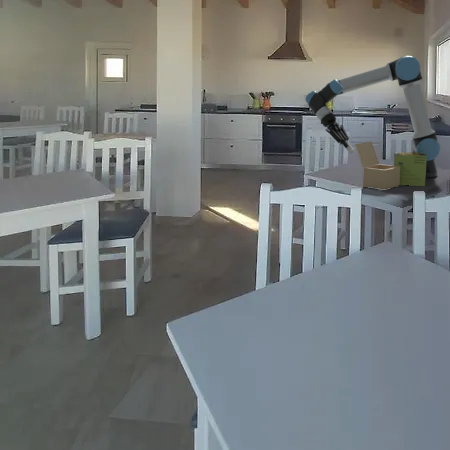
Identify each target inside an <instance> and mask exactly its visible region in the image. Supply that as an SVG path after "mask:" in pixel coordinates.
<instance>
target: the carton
mask: <svg viewBox="0 0 450 450" xmlns="http://www.w3.org/2000/svg"><path fill="white" fill-rule="evenodd" d="M362 177H363V178H362V181H363V182H362V183H363V184H362V188H363V187H373V188H380V189H388V188H392V189H394V188H393V187H396V188H398V187H397V186H399V183H400V166H394V165H389V164H380V163H379V164H376V165H372V166H367V167H363V176H362ZM399 187H400V186H399ZM388 190H389V189H388Z"/></svg>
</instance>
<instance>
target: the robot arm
mask: <svg viewBox="0 0 450 450" xmlns="http://www.w3.org/2000/svg"><path fill="white" fill-rule="evenodd" d="M396 80H397V81H398V86H399V87H401V88H402V89H403V93H404V98H405V101H406V105H407V109H408V112H409V116H410V120H411V125H412V129H413V133H414V134H413V136H412V140H413V142H412V153H425V154H426V155H427V161H426V177H425V178H435V177H437V176H438V169H437V166H436V161H435V159H436V158H437V157H438V156H439V155H440V152H441V145H440V142H439V141H438V137H437V133H436V130H434V129H433V128H432V126H431V125H432V124H431V122H430V117H429V112H428V110H427V109H428V108H427V105H426V102H425V97H424V94H423V93H424V92H423V90H422V86H421V83H422V81H423V77H422V72H421V63H420V61H419V60H418V59H417V57H415V56H413V55H403V56H401V57H399V58H397V59H395V60H393V61H390V62H387V63H386V65H384V66H381V67H378V68H374V69H370V70H367V71H364V72H360V73H359V74H354V75H351V76H348V77H346V78H342V79H337V78H335V79H333V80H331V81H330V82H328V83H327V84H326V85H325V86H324V87H323V88H322V89H320V90H319V91H318V92H317V90H313V91H310V92H309V93H308V94H307V95H306V97H305V102H306V104H307V105H308V107H309V108H310V109H311V111H312V112H313V113H314V115H315V116H316V117H317V119H318V120H319V121H320V123H321V124H322V125H323V127H324V128H326V129H325V132H327V133H328V134H329V135H330V136H331V137H332V138H333V139H334V140H335V142H336V143H337V144H339V145H340V146H341V145H342V146H343V147H344V148H345V150H346V151H347V152H348V154H352V153H353V152H354V151H355V148H354V147H353V146H352V144H351V143H350V142H349V140H350V137H349V135H348V134H347V133H348V132H347V131H346V129H345V128H344V125H343V124H341V125H340V124H339V122H338V121H337V117H336V116H335V114H334V113H333V112H332V110H331V108H329V106H328V105H327V104H329V102H330V101H332V100H333V99H334V98H336V97H337V96H339V95H342V94H343V95H344V94H346V93H350V92H353V91H357V90H359V89H363V88H366V87H370V86H373V85H377V84H379V83H383V82H387V81H392V82H394V81H396Z"/></svg>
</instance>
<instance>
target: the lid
mask: <svg viewBox="0 0 450 450" xmlns="http://www.w3.org/2000/svg"><path fill="white" fill-rule="evenodd" d="M354 146H355V150H356V151H357V154H358V158H359V161H360V164H361V166H362V168H364V167H369V166H373V165H378V164H380V162H379V159H378V157H377V153H376V150H375V147H374V145H373V141H367V142H360V143H356V144H354Z"/></svg>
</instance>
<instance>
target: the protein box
mask: <svg viewBox="0 0 450 450" xmlns="http://www.w3.org/2000/svg"><path fill="white" fill-rule="evenodd" d="M426 161H427V155H426V154H425V153H413V151H412V152H407V151H406V152H403V151H402V152H400V151H398V152H394V153H393V166H400V183H399V185H409V186H408V187H425V186H426V178H427V177H426Z"/></svg>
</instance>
